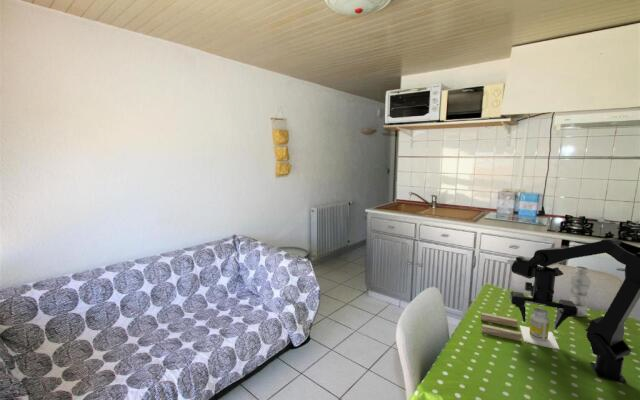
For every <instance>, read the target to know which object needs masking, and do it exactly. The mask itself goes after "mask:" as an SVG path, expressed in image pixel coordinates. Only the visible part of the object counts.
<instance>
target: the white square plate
mask: <svg viewBox="0 0 640 400" xmlns="http://www.w3.org/2000/svg"><path fill="white" fill-rule="evenodd" d="M519 330H520V332H521V338H522V340H523V342H524V343H527V344H531V345H536V346H540V347H545V348H550V349H553V350H558V351H560V350H561V348H560V347H559V345H558V342H557V340H556V338H555V335H554V333H553V332H552V331H548V339H547V340H538V339H535V338H533V337H532V336H531V335H530V333H529V332H530V326H524V325H521V324H520V325H519Z"/></svg>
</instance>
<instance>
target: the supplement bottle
mask: <svg viewBox="0 0 640 400" xmlns="http://www.w3.org/2000/svg"><path fill="white" fill-rule="evenodd" d="M548 314H549V312H548V311H547V310H546V309H544V308H540V307H535V308H534V309H533V314H531V315H530V319H529V320H530V322H529V327H530V332H529V333H530V335H531V336H532V337H533V338H535V339H538V340H547V339H548V331H549V330H550V318H549V317H548Z"/></svg>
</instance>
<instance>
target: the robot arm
mask: <svg viewBox="0 0 640 400" xmlns="http://www.w3.org/2000/svg"><path fill="white" fill-rule="evenodd" d="M600 254H607V255H609V256H610V257H611V258H613V259H614V260H616V261H617V262H618V263H620V264H622V265H625V268H624V280H623V282H622V283H621V285H620V287H619V289H618V291H617V293H616V294H615V296H614V298H613V299H612V301H611V304H610V305H609V307H608V308H607V311H606V312H605V314H604V316H603V315H602V316H598V317H596V318H594V319H590V322H589V325H588V327H587V328H585V330H584V331H586V334H585V335H586V338H587V340H588V342H589V344H590V346H591V351H592V354H594V355H596V357H595V362H593V361H592V362H590V363H589V364H590V366H591V368H592V369H593V371H594V373H595V374H596V376H597V377H599V378H603V379H605V380H610V381H614V382H618V383H621V384H627V379H625V377H624V376H623V374H622V373H623V367H624V360H625V359H624V357H627V356H629V355H630V354H631V353H632V349H631V348H630V347H629V345H628V343H626V341H625V340H624V339H623V338H624V336H625V335H624V333H625V327H624V326H625V323H626V321H627V320H628V318H629V316H630V315H631V313H632V312H633V309H634V308H635V306H636V304H637V303H638V301H639V299H640V246H637V245H633V244H630V243H627V242H625V241H623V240H620V239H617V238H616V237H615V238H614V237H610V238H605V239H602V240H599V241H593V242H590V243H589V242H588V243H584V244H578V245H574V246H569V247H548V248H543V249H537V250H536V251H535V250H534V253H533V256H532V257H531V258H525V256H524V257H523V256H521V255H519V256H516V257H515V260H514V261H513V263H512V265H511V268H510V269H511V272H512V273H513V274H514V275H517V276H521V277H522V278H523V277H524V278H526V279H529V280H531V279H533V278H534V279H533V282H528V281H525V284H524V291H527V292H530V296H531V297H528V296H525V293H524V292H519V291H514V290H513V291H510V294H509V299H510V303H511V304H512V305H514V306H515V307H516V308H518V309H519V311H520V315H521V318H522V322H523V323H524V324H525V323H526V303H527V304H533V305H539V306H544V307H549V308H555V309H556V310H557V311H556V316H555V320H554V325H553V326H554V327H553V328H554V330H557V329H558V328H559V327H560V326H561V324H562V323H563V322H564V321H565V320H567V319H568V318H572V317H574V316H575V317H578V316H577V313H578V308H577V307H576V306H575V304H574V303H573V302H572V301H568V300H567V299H559V300H558V301H554V294H555V284H556V283H555V282H556V277H560V276H564V272H563V271H562V270H561V269H560V268H559V267H549V266H553V265H555V266H556V265H558V264H561V263H564V262H567V261H569V260H572V259H577V258H583V257H584V258H585V257H589V256H593V255H594V256H595V255H600Z"/></svg>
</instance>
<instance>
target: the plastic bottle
mask: <svg viewBox="0 0 640 400" xmlns="http://www.w3.org/2000/svg"><path fill="white" fill-rule="evenodd" d="M588 271H589V268H587V267H584V266H580V265H579V266H576V267H575V273H573V275H571V276H570V278H569V281H570V282H569V283H570V284H569V285H570V291H569V298H568V300H567V301H572V302H573V303H574V304H575V306H576V307H577V308H578V313H577V316H576V317H585V316H586V315H587V312H588V307H587V305H588V303H587V300H588V299H587V298H588V293H589V290H590V287H591V284H592V282H591V278H590V277H589V276H588V273H589V272H588Z"/></svg>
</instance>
